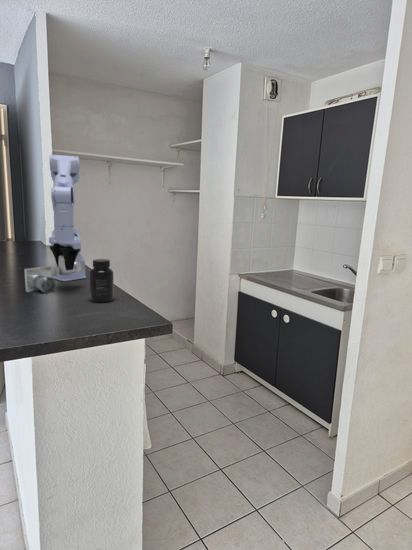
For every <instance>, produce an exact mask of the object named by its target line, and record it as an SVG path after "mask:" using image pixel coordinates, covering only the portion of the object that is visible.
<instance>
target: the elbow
mask: <svg viewBox="0 0 412 550" xmlns="http://www.w3.org/2000/svg"><path fill="white" fill-rule="evenodd" d="M84 270H85V271H86V263H85V264H84V262H83V261H82V260H80V261H75V263H74V267H73V270H66V268H65V261H64V256H63V255H58V274H59V275H71V274H72V273H81V272H84Z"/></svg>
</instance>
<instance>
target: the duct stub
mask: <svg viewBox="0 0 412 550" xmlns="http://www.w3.org/2000/svg"><path fill="white" fill-rule="evenodd" d="M55 280H56V279H54V278H52V267H51V266H50V265H48V266H45V265H44V266H37V267H31V268H24V283H25V284H24V285H25V292H27V293H31V292H35V291H41V292H42V293H44V294H50V293H52V292H53V291H54V290H55V288H56V285H57V283H56V281H55Z"/></svg>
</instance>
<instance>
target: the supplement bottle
mask: <svg viewBox="0 0 412 550" xmlns="http://www.w3.org/2000/svg"><path fill="white" fill-rule="evenodd" d="M110 262H111V261H110V259H108V258H107V259H105V258H96V259H93V260H92V267H93V268H92V269H90V270H89V298H90V301H91V302H93V303H108V302H111V301H113V300H114V297H115V294H114V293H115V292H114V291H115V289H114V285H115V283H114V282H115V281H114V271H113V269H112V268H110V267H111V263H110Z"/></svg>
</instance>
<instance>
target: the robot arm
mask: <svg viewBox="0 0 412 550" xmlns="http://www.w3.org/2000/svg"><path fill="white" fill-rule="evenodd" d="M49 171H50V178H51V181H53V187H51V191H50V195H51V196H50V199H51V204H52V211H53V230H52V231H51V236H50V237H48V243H49V244H50V246H49V249H50V251H51V252H52V255H53V257H54V259H55V263H56V264H55V267H56V275H51V278H53V279H54V280H57V281H61V282H69V281H76V280H81V279H82V280H83V279H86V278H87V276H86V269H85V270H84V272H81V273H72V274H71V275H59V274H58V255H63V256H64V261H65V268H66V270H73V267H74V263H75V261H80V260H82V261H83V262H84V264H85V265H86V259H85V257H84V255H83V254H82V253H81V252H82V238H81V232H80V231H79V229H77V227H74V226H75V223H74V207H75V200H76V199H75V198H76V197H75V189H74V184H77V183H78V182H79V179H80V158H79V156H78V155H76V156H72V155H63V154H62V155H60V154H53V153H52V154H50V155H49Z"/></svg>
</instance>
